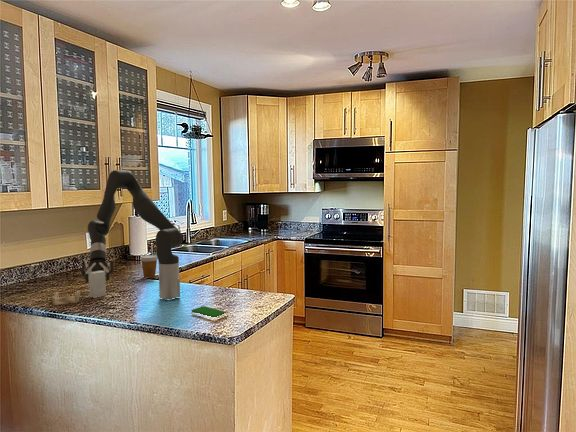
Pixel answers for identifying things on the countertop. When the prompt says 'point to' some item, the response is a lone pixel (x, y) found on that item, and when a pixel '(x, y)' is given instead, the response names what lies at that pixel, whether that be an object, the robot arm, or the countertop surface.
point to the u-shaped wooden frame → (65, 299)
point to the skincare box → (97, 284)
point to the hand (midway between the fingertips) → (97, 281)
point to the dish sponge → (208, 311)
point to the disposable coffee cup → (149, 265)
